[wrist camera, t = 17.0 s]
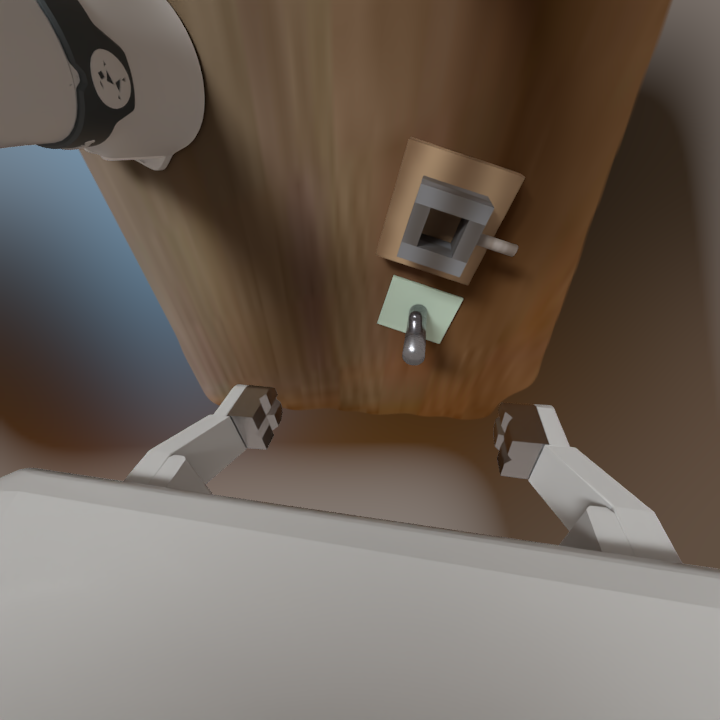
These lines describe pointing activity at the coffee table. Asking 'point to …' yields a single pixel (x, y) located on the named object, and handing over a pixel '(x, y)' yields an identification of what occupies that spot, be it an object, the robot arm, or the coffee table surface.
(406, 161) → the block
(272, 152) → the coffee table surface
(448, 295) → the mat
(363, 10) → the coffee table surface
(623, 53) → the coffee table surface
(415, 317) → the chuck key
